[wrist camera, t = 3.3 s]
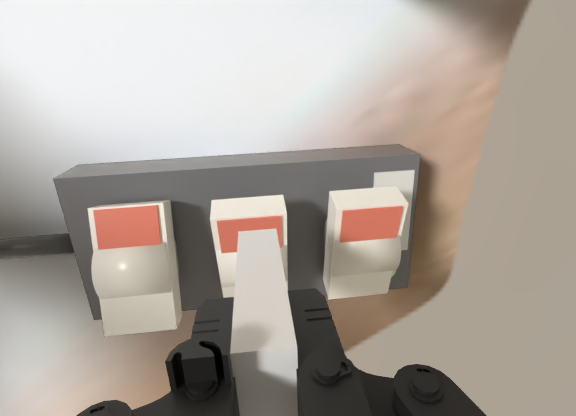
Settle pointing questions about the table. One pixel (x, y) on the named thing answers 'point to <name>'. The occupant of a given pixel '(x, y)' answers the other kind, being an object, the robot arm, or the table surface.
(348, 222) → the rocker
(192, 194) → the rocker switch panel
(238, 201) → the rocker
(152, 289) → the rocker
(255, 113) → the table surface
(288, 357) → the robot arm
